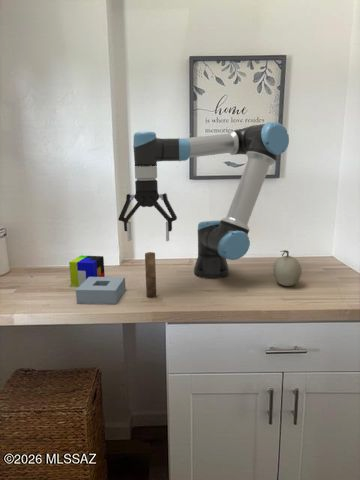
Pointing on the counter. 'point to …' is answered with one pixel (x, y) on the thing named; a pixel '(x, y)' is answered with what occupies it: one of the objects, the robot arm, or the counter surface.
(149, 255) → the dowel
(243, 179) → the robot arm
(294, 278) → the fruit
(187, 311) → the counter surface
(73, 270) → the puzzle toy
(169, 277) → the counter surface
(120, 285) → the socket block
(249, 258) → the counter surface
